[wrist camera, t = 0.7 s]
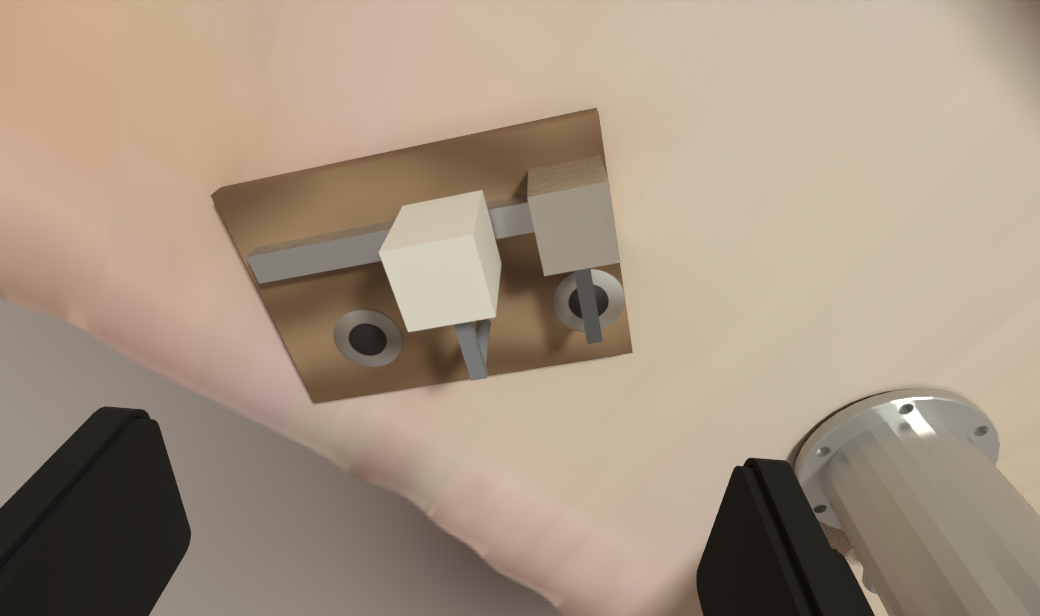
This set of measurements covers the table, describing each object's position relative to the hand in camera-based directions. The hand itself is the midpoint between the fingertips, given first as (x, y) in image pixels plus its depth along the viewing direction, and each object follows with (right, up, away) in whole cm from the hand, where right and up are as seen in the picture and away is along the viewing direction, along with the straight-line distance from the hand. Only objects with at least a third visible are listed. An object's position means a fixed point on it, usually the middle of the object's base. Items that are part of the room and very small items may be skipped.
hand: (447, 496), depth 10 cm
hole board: (-3, +5, +24) cm, 25 cm away
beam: (-3, +5, +22) cm, 23 cm away
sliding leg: (-2, +5, +22) cm, 23 cm away
